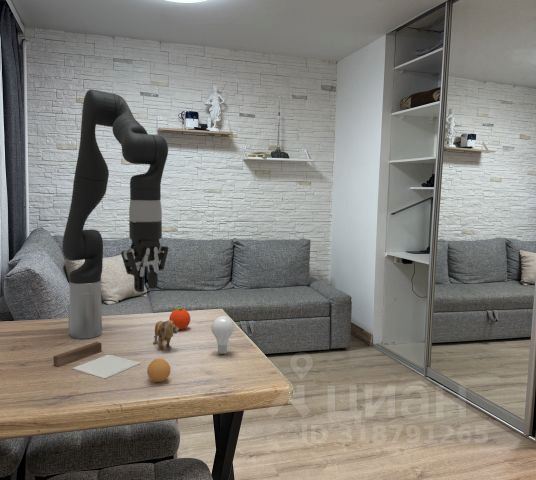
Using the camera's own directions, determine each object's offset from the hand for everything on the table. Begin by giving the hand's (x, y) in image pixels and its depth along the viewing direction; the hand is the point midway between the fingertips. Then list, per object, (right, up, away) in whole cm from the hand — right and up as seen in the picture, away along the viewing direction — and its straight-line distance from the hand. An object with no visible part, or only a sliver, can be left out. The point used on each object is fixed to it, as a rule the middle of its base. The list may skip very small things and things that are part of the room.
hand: (146, 289), depth 115 cm
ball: (+3, -20, 0) cm, 20 cm away
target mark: (-13, -21, +9) cm, 26 cm away
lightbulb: (+17, -21, +20) cm, 33 cm away
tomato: (0, -18, +43) cm, 47 cm away
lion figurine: (-1, -20, +26) cm, 33 cm away
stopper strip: (-22, -20, +15) cm, 33 cm away
